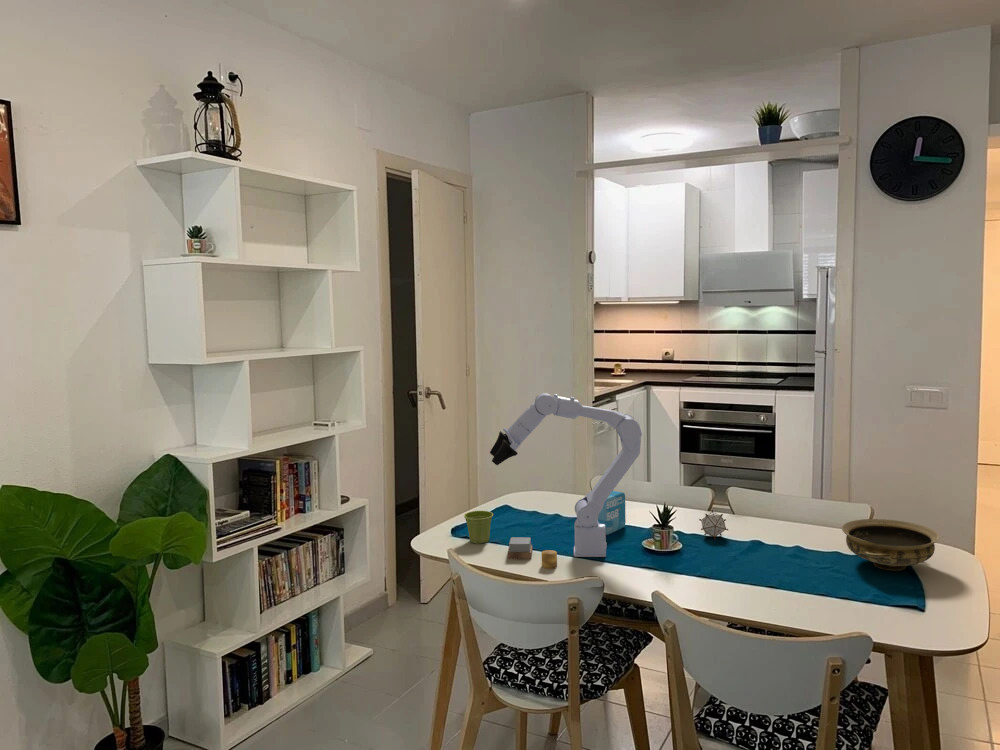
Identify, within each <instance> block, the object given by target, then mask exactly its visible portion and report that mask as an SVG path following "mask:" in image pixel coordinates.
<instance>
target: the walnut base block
mask: <svg viewBox="0 0 1000 750" xmlns="http://www.w3.org/2000/svg"><path fill="white" fill-rule="evenodd" d="M532 557H533V544H531V548H530V552H510V548H509V547H508V550H507V560H532Z"/></svg>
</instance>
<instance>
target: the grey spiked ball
mask: <svg viewBox="0 0 1000 750" xmlns="http://www.w3.org/2000/svg"><path fill="white" fill-rule="evenodd" d="M704 515H705V516H704V517H703V518H702V519H701V518H699V519H698V521H701V522H700V523H701V527H702V528H700V531H702V530H703V532H704V534H703V535H704V536H706V535H708V536H711V537H712V538H713V539H714V540H716V538H717V536H722V533H723V532H725V531H729V528H727V527H726V521H727V519H726V518H725V519H724V518H723V515H724V514H723V513H721V514H718V513H715V512H714V510H713V509H711V512H710V513H708V514H707V513H705V514H704Z"/></svg>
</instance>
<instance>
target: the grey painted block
mask: <svg viewBox="0 0 1000 750" xmlns="http://www.w3.org/2000/svg"><path fill="white" fill-rule="evenodd" d="M531 542H532V540H531V537H521V536H520V537H515V536H513V537H510V540H509V543H508V544H509V546H508V549H509V548H510V552H530V548H531V545H532V543H531Z"/></svg>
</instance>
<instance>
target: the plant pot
mask: <svg viewBox="0 0 1000 750" xmlns="http://www.w3.org/2000/svg"><path fill="white" fill-rule="evenodd" d="M463 517H464V519H465V522H466V526H467V529H468V530H467V531H468V536H469V541H470V542H471V543H473V544H481V545H482V544H483V543H488V542H489V541H490V534H491V524H492V523H491V522H492V519H493V517H494V513H493V512H491V511H488V510H474V511H473V510H471V511H468V512H465V513H464V514H463Z"/></svg>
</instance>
